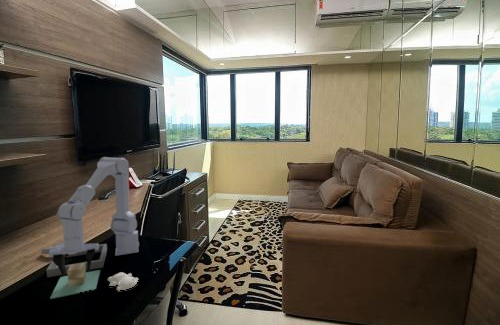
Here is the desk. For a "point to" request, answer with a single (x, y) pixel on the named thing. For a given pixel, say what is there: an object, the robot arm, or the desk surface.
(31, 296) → the desk surface
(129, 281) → the white fluffy flat lump
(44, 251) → the stone block
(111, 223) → the robot arm
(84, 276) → the maple block
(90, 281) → the teal mat
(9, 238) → the desk surface
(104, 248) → the box
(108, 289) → the desk surface
